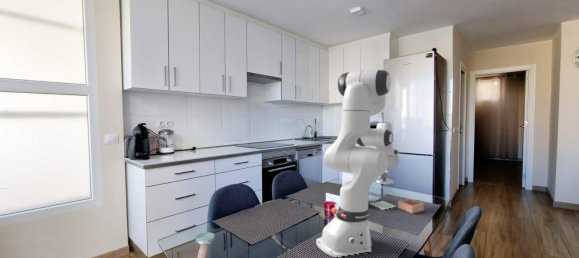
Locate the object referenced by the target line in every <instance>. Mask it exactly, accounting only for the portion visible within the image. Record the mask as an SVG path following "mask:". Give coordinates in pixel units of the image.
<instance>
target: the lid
mask: <svg viewBox="0 0 579 258" xmlns="http://www.w3.org/2000/svg"><path fill="white" fill-rule="evenodd" d="M382 175H383V176H380V177H378V178H376V179H375V180H374V182H373V183H374V184H375V183H376V184H378V185H393V184H394V183H395V181H394V180H393V179H390V178H387V176H386V173H383V174H382Z"/></svg>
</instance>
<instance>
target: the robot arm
mask: <svg viewBox="0 0 579 258" xmlns="http://www.w3.org/2000/svg"><path fill="white" fill-rule="evenodd" d="M391 78H392V77H391V76H390V73H389V72H388V71H387V70H382V69H378V70H357V71H351V72H349V71H348V72H345V73H342V74H341V75H340V76H339V77H338V79H337V90H338V92H339V94H340V96H341V97H342V106H341V107H342V108H341V120H340V121H341V123H340V128H339V134H338V136H337V138H336V140H335V141H334V142H333V143H332V144H331V145H329V147H328V148H327V149H326V150H325V152H324V156H323V160H324V163H325V164H324V165H325V166H326V167H327V168H328V169H330V170H333V171H336V172H340V173H341V172H346V173H352V174H353V180H352V181H349V182H347V183H345V184H343V185H341V187H340V189H339V206H338V208H336V207H332V208H331V213H332V214H335V217H333V218H332V219H331V220H330V221H329V222H328V223H327V224H326V225H325V226H324V228H323V230H322V232H321V233H322V234H321V236H320V237H318V238H317V239H316V241H315V244H316V245H317V247H318V248H319V249H320V250H321V251H322V252H324V253H325V254H326V255H328V256H330V257H333V258H336V257H338V258H343V257H342V256H345V257H349V256H348V255H351V256H355V255H354V254H357V255H360V254H359V253H364V252H370V253H371V252H372V246H373V242H372V238H371V234H370V226H369V219H370V208H369V196H370V195H369V194H370V189H371V186H372V185H373V183H375V182H374V180H375V179H376V178H380V177H381V176H383V175H382V174H383V173H386V177H387V176H389V173H390V170H391V168H397V167H399V165H400V156H399V154H400V151H399V150H398V149H395V148H393V142H394V134H393V125H392V123H390V122H385V121H381V122H378V123H377V124H376V128H371V117H373V116H376V115H378V114H379V113H380V112H382V111H383V110H384V108H385V106H386V95H387V94H388V93H389V92H390V89H391V87H392V79H391ZM357 145H358V146H357ZM364 254H365V253H364Z"/></svg>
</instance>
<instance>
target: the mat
mask: <svg viewBox="0 0 579 258" xmlns="http://www.w3.org/2000/svg"><path fill="white" fill-rule="evenodd" d="M369 205H370V206H373V207H374V206H375V207H374V208H377V207H378V208H377V209H379V208H380V210H381V209H382V210H381V211H386V210H385V209H387V210H390V209H389V208H391V209H394V208H393V207H396V208H397V205H394V204H392V203H389V202H387V201H384V200H381V201H375V202H370V203H369Z"/></svg>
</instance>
